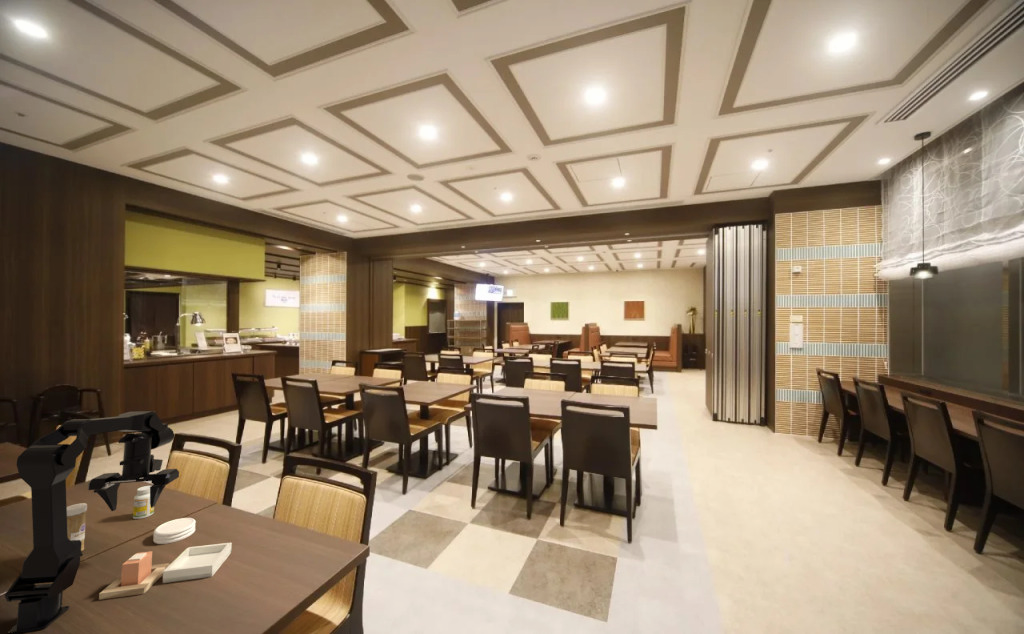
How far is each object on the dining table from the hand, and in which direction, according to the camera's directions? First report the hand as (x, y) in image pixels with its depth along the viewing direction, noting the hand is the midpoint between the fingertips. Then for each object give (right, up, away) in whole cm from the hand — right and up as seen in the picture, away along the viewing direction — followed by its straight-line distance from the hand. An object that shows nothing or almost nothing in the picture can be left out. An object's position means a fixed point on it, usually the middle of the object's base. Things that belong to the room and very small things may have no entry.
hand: (133, 508), depth 108 cm
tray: (+23, -14, -5) cm, 27 cm away
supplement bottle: (-19, -14, +22) cm, 33 cm away
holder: (+13, -14, -12) cm, 22 cm away
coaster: (+3, -14, +11) cm, 18 cm away
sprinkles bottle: (-19, -14, +1) cm, 23 cm away
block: (+13, -14, -12) cm, 22 cm away
